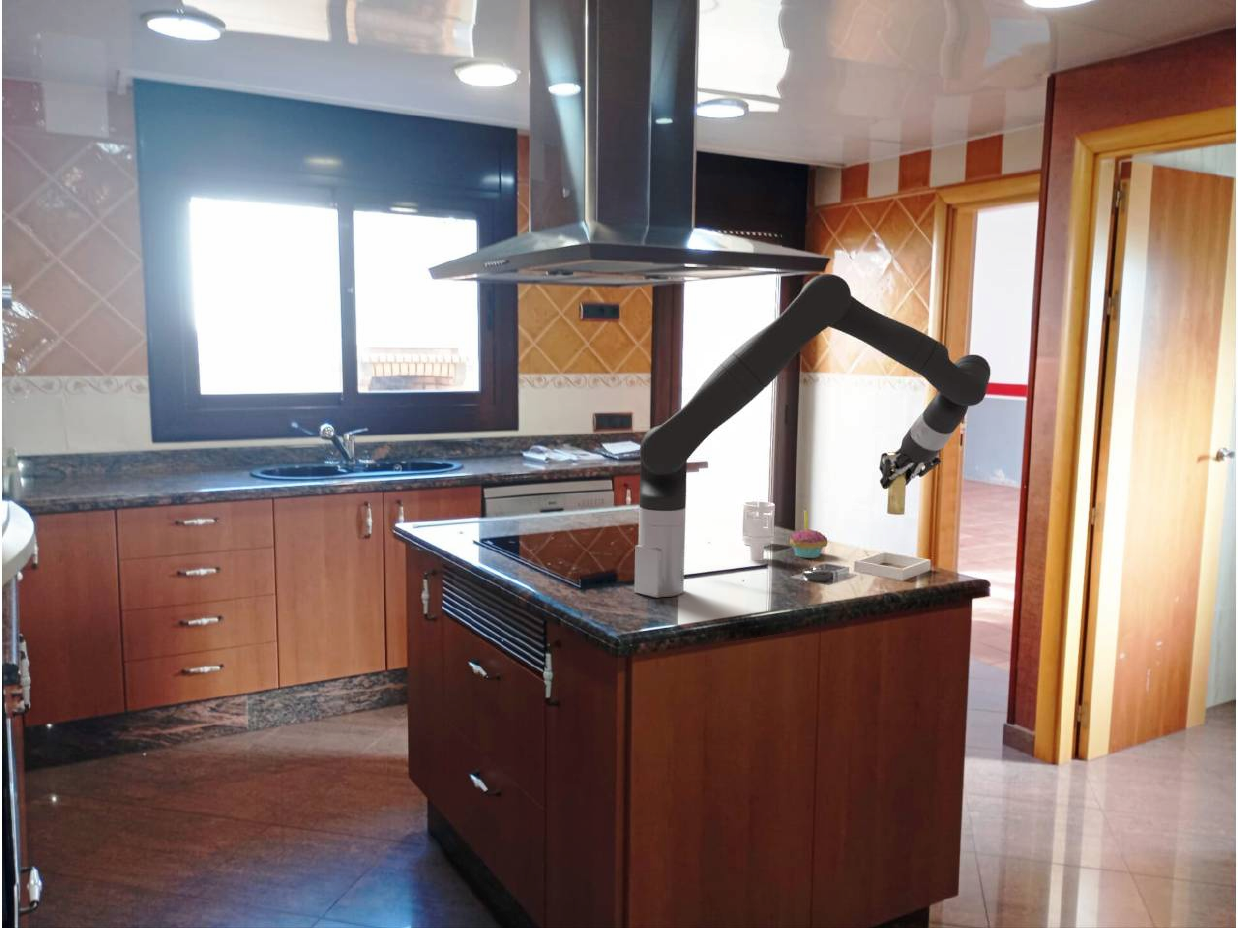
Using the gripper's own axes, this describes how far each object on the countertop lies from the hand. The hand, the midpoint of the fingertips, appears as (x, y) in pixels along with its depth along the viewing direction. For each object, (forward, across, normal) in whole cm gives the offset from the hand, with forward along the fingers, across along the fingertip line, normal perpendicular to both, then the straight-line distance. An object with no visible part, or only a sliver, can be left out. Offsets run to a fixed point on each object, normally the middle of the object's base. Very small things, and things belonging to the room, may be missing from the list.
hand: (891, 485), depth 212 cm
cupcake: (+26, +10, +2) cm, 28 cm away
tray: (+13, 0, +15) cm, 20 cm away
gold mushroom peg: (+3, 0, +6) cm, 6 cm away
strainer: (+25, +24, +3) cm, 35 cm away
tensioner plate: (+12, +17, +16) cm, 26 cm away
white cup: (+39, +14, -11) cm, 43 cm away
